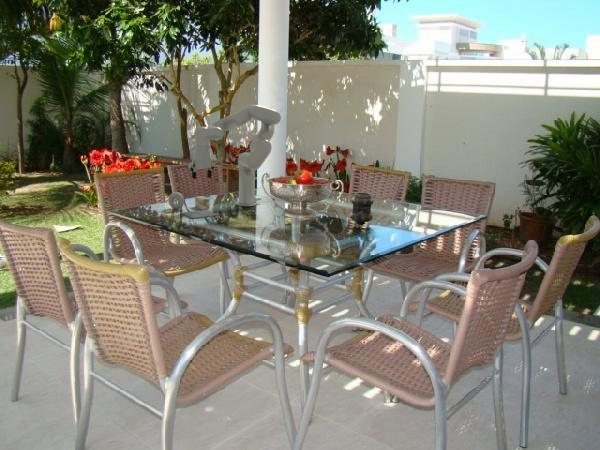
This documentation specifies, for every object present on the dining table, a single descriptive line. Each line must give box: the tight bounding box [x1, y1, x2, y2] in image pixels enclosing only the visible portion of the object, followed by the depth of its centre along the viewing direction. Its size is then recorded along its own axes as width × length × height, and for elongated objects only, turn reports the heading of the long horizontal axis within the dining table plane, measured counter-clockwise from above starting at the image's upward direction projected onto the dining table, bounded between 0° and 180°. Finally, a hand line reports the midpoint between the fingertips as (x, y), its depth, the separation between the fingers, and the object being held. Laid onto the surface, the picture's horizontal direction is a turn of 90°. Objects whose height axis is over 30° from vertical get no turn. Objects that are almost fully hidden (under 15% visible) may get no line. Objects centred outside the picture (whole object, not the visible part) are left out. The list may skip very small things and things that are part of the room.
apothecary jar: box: [349, 191, 374, 225], centre depth 294 cm, size 12×12×18 cm
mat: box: [180, 209, 220, 220], centre depth 307 cm, size 16×14×1 cm
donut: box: [168, 191, 185, 210], centre depth 318 cm, size 10×4×10 cm, turn 67°
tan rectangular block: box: [194, 195, 211, 211], centre depth 325 cm, size 4×9×6 cm, turn 38°
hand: (201, 178), depth 321 cm, fingers open, 9 cm apart
